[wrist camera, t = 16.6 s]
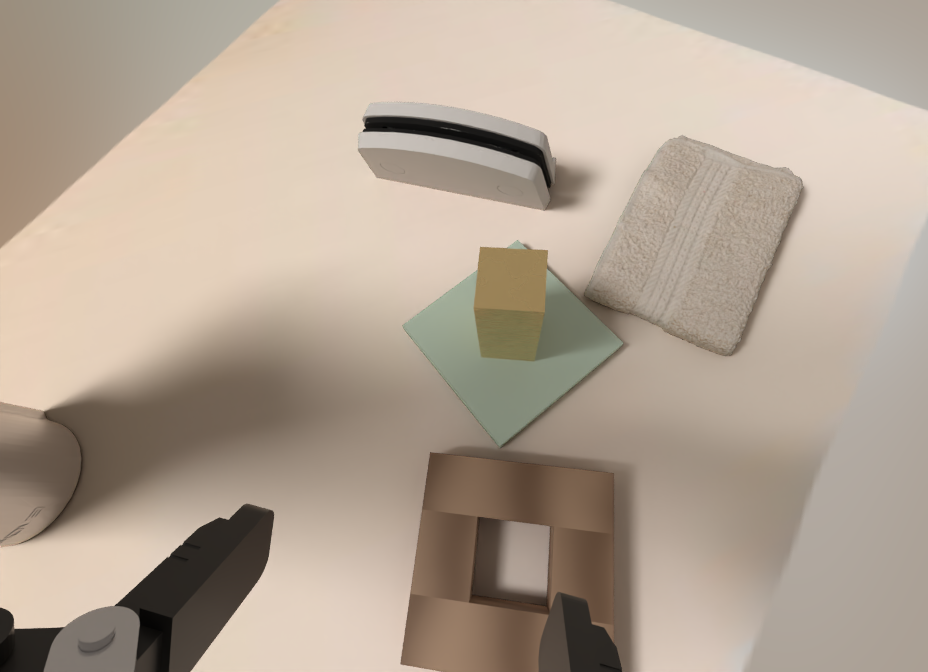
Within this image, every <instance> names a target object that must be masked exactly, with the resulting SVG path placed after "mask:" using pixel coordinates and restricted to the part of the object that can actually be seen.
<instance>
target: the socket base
mask: <svg viewBox="0 0 928 672" xmlns="http://www.w3.org/2000/svg"><path fill="white" fill-rule="evenodd" d="M479 517H485V518H493V519H500V520H508V521H516V522H523V523H531V524H539V525H546V526H550V541H549V563H548V586H547V606H542V605H536V604H529V603H522V602H516V601H509V600H503V599H496V598H489V597H483V596H476V595H472V589H473V578H474V568H475V558H476V548H477V537H478V527H479ZM557 592H561V593H565V594H568V595H572V596H576V597H579V598H583V599H586V601H587V603H588V607H589V612H590V617H591V622H592V624H594V625H597V626H601V627H604V628H605V630H606V631H607V633H608V635H609V636H610V638H611V640H612V641H613V643H614V473H608V472H599V471H590V470H581V469H572V468H564V467H555V466H546V465H537V464H528V463H519V462H511V461H502V460H493V459H484V458H475V457H467V456H458V455H449V454H440V453H431V452H430V458H429V465H428V472H427V479H426V486H425V493H424V500H423V507H422V514H421V522H420V529H419V536H418V543H417V550H416V557H415V564H414V571H413V578H412V586H411V593H410V600H409V607H408V614H407V621H406V628H405V635H404V642H403V650H402V657H401V664H402V665H407V666H413V667H419V668H425V669H430V670H436V671H442V672H539V666H538V657H539V647H540V641H541V637H542V633H543V630H544V627H545V624H546V621H547V618H548V616H549V613H550V610H551V607H552V604H553V601H554V598H555V595H556V593H557Z"/></svg>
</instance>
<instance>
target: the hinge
mask: <svg viewBox="0 0 928 672" xmlns="http://www.w3.org/2000/svg"><path fill="white" fill-rule="evenodd" d="M363 122H364V124H365V125H364V126H365V128H366V129H364V130H363V132H361V133H359V134H358V151H359V153H360V154H361V156H362V157H363V158H364V160H365V161H366V163H367V164H368V166H369V167H370V169H371V170H372V171H373V173H374V174H375V176H376V177H377V178H381V179H386V180H391V181H397V182H402V183H407V184H412V185H417V186H422V187H427V188H432V189H437V190H442V191H447V192H453V193H458V194H463V195H468V196H473V197H478V198H483V199H488V200H493V201H498V202H503V203H509V204H514V205H519V206H524V207H529V208H534V209H539V210H544V211H545V209H546V207H547V206H548V204H549V202H550V200H551V198H550V195H549V192H548V189H547V187H550V185H551V184H555V170H556V158H553V157H552V155H551V151H550V147H549V143H548V139H547V136H546V135H545V134H544V133H543V132H541V131H539V130H536V129H534V128H531V127H528V126H525V125H522V124H519V123H516V122H513V121H509V120H506V119H503V118H499V117H495V116H491V115H487V114H483V113H479V112H475V111H470V110H465V109H460V108H455V107H448V106H442V105H434V104H426V103H413V102H378V103H370V104H369V105H368V108H367V110H366V112H365V114H364V116H363Z"/></svg>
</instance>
